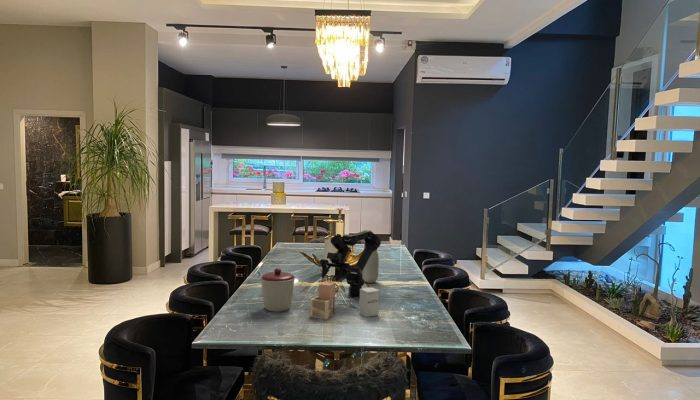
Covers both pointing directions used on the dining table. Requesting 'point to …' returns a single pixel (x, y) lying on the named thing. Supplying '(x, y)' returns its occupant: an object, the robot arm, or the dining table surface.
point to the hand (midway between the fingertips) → (329, 279)
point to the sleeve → (321, 308)
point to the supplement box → (369, 302)
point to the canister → (277, 290)
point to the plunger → (327, 291)
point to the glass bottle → (371, 268)
